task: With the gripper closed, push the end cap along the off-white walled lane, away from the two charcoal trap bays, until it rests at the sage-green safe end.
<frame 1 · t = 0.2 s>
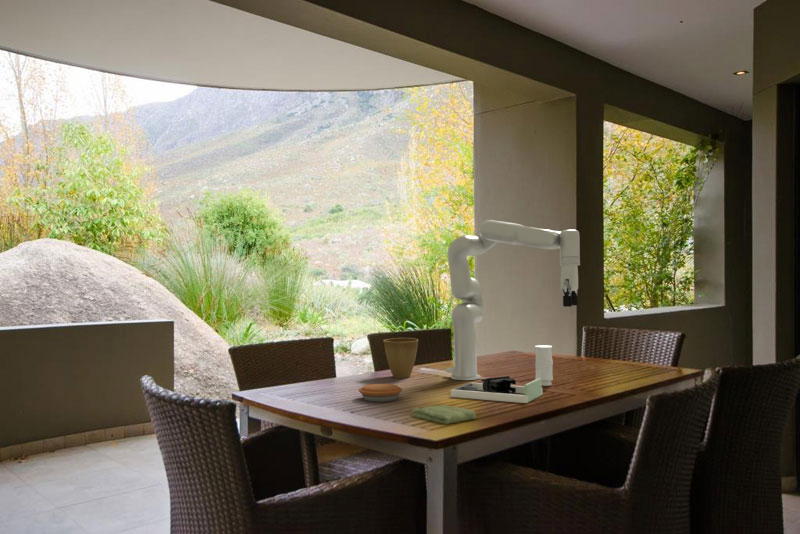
hand: (570, 305, 261), 31 cm above the table, tool pointing down, fingers open, 9 cm apart
pie: (380, 399, 239), on the table
candle: (544, 384, 265), on the table
finger lane: (497, 395, 242), on the table
plant pot: (401, 377, 290), on the table
washcloth: (443, 419, 207), on the table
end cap: (499, 396, 242), on the table
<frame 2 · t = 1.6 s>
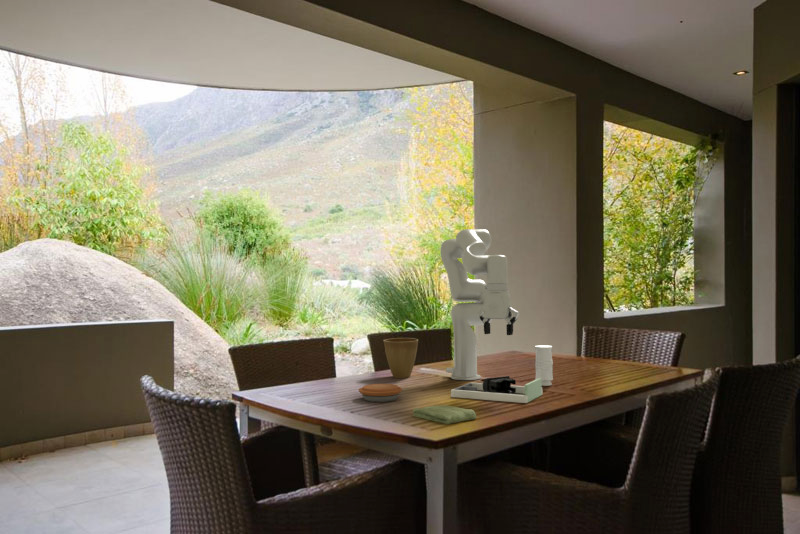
hand: (498, 334, 249), 21 cm above the table, tool pointing down, fingers open, 9 cm apart
nothing on the table moved.
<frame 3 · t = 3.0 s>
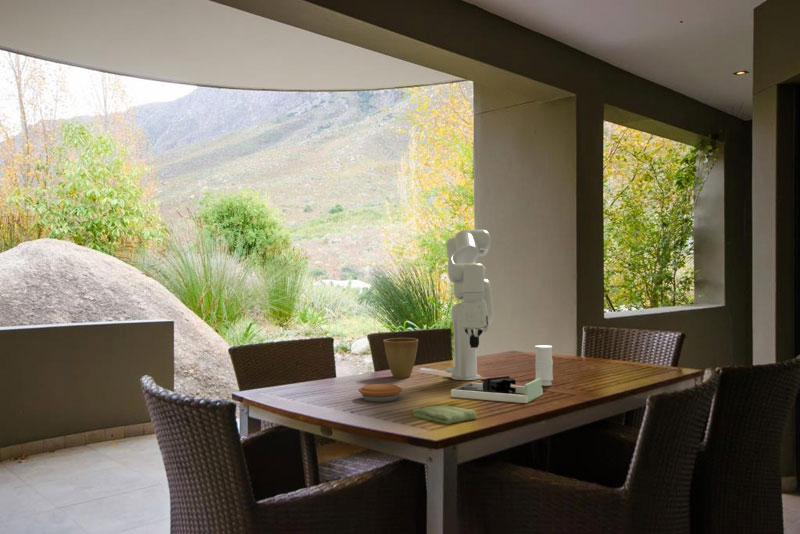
hand: (474, 347, 246), 17 cm above the table, tool pointing down, fingers closed
nothing on the table moved.
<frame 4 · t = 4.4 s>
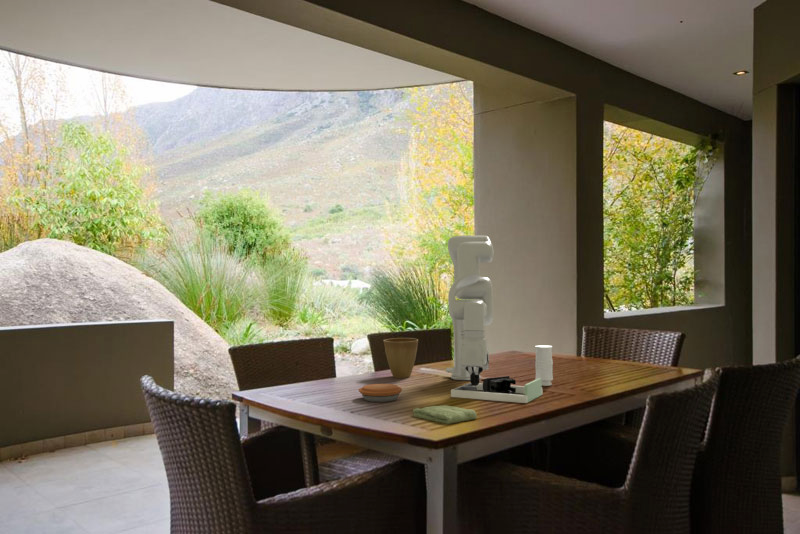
hand: (474, 385, 246), 3 cm above the table, tool pointing down, fingers closed
nothing on the table moved.
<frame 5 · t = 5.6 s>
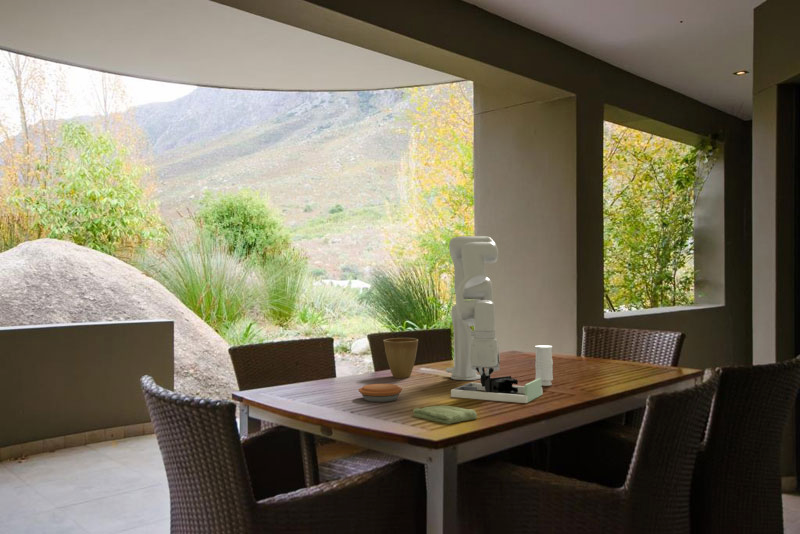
hand: (485, 386, 244), 3 cm above the table, tool pointing down, fingers closed
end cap: (501, 396, 241), on the table, touching gripper
everything else where it was.
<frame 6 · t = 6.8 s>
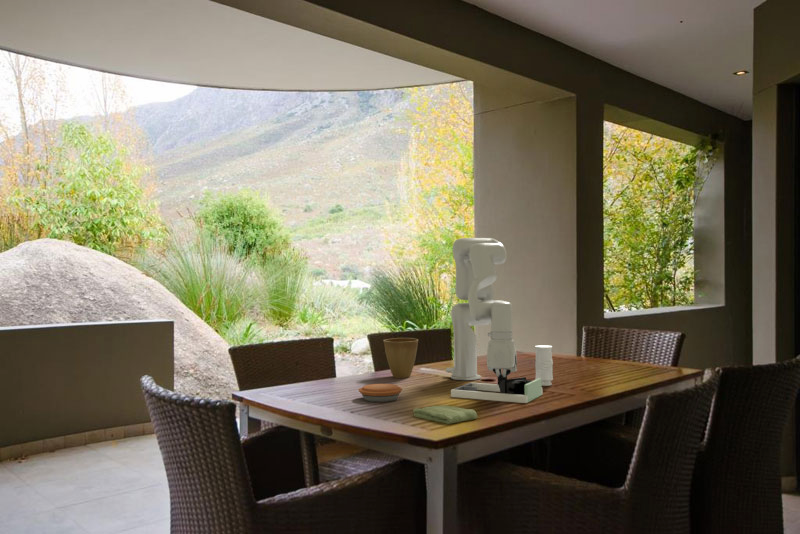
hand: (502, 387, 241), 3 cm above the table, tool pointing down, fingers closed
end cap: (516, 398, 238), on the table, touching finger lane, gripper
everything else where it was.
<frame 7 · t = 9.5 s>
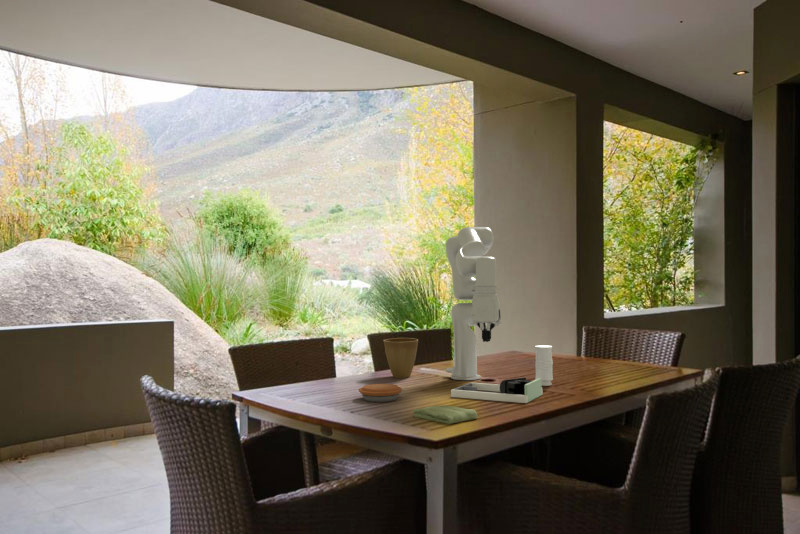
hand: (486, 341, 244), 19 cm above the table, tool pointing down, fingers closed
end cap: (516, 398, 237), on the table
everything else where it was.
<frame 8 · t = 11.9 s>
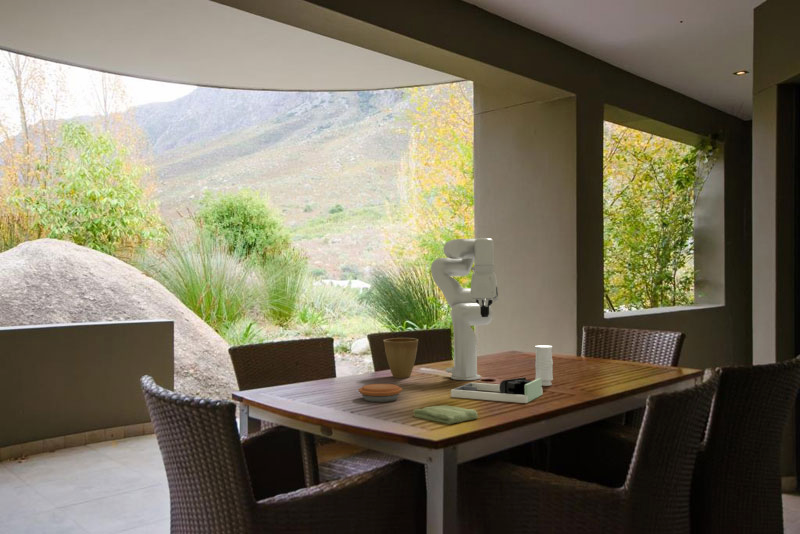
hand: (484, 316, 262), 27 cm above the table, tool pointing down, fingers closed
nothing on the table moved.
at the end: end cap inside the target area (1.8 cm from its centre), on the table; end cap moved 6.8 cm from its start; the gripper is holding nothing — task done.
